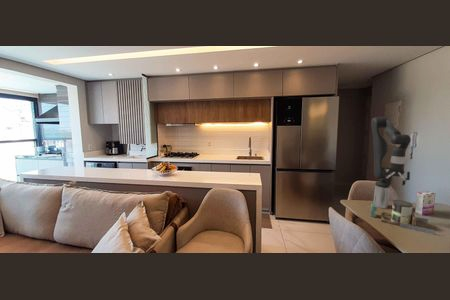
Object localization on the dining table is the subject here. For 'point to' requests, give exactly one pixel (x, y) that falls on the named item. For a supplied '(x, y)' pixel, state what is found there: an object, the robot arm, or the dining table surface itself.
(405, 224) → the track
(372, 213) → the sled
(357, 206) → the dining table surface
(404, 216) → the coffee can
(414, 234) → the dining table surface
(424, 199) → the candy bar box
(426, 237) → the dining table surface
